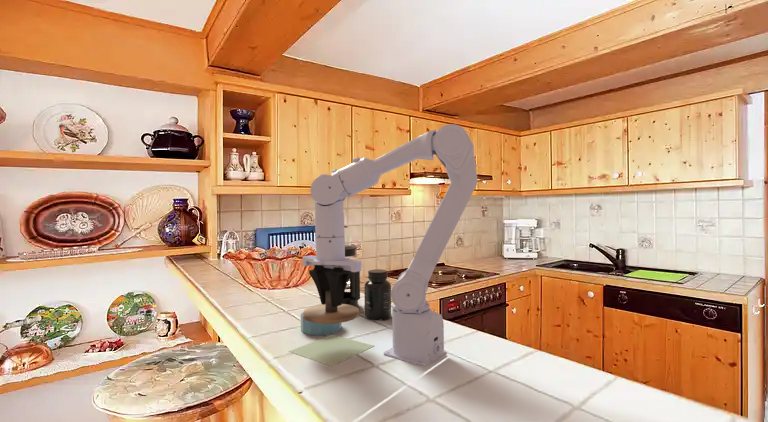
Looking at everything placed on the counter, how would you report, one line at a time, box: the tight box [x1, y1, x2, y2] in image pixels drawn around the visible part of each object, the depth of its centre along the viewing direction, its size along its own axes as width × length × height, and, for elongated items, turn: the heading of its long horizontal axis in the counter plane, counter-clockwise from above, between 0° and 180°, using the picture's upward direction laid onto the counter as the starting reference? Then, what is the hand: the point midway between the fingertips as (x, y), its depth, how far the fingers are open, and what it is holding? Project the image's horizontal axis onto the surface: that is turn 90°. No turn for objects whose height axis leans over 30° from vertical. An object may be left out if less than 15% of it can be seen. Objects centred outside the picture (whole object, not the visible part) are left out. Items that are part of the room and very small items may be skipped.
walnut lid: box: [302, 290, 360, 324], centre depth 78 cm, size 11×11×5 cm
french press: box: [333, 225, 361, 309], centre depth 109 cm, size 12×9×23 cm
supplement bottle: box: [364, 268, 392, 321], centre depth 99 cm, size 7×7×12 cm
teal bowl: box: [300, 312, 342, 336], centre depth 90 cm, size 9×9×4 cm
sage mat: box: [288, 333, 375, 367], centre depth 78 cm, size 12×12×1 cm
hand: (331, 304), depth 78 cm, fingers closed on walnut lid, 2 cm apart
